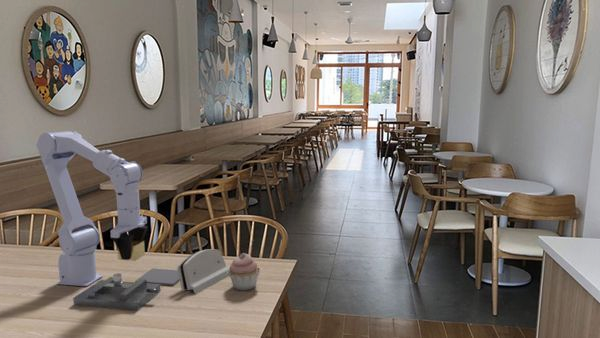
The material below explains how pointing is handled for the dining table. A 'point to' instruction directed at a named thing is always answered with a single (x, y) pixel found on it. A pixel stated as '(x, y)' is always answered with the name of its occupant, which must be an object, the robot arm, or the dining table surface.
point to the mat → (161, 277)
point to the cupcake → (244, 272)
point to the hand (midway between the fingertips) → (131, 255)
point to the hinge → (202, 270)
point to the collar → (135, 250)
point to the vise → (118, 294)
